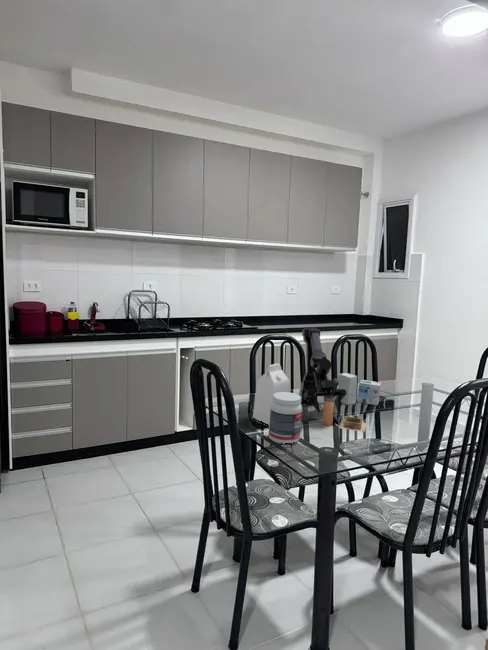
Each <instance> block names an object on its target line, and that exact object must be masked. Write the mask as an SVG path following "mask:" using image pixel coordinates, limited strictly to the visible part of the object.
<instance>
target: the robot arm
mask: <svg viewBox="0 0 488 650" xmlns="http://www.w3.org/2000/svg"><path fill="white" fill-rule="evenodd" d="M301 336H302V337H303V339H302V340H303V342H304V344H305V347H306V351H305V352H306V361H305V362H306V370H305V371H306V372H305V374H304V376H303V378H302V382H301V384H300V391H301V393H302V396H301V402H300V404H301V405H302V404H303V405H309V406H312V407H314V409H315V410H316V411H317V413H318V414H319V413H321V409H320V405H319V401H318V397H324V396H332V397H334V398H335V401H334V406H335V407H336V408H335V409H336V411H337V413H339V412H340V411H341V405H342V404H341V403H342V402H341V400H342V399H343V398H344V397H345V396H346V394H347V392H346V390H345V389H338V388H336V387H338V385H339V383H338V378H332V379H330V378H328V374H329V373H330V371H331V369H332V365H333V363H332V362H331V360H330V359H328V358H327V355H326V353H325V352H324V351H323V348H322V344H321V330H320V329H318V327H308V326H307V327H304V329H302V332H301ZM334 388H336V390H335V391H333V390H334Z"/></svg>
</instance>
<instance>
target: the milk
mask: <svg viewBox="0 0 488 650" xmlns="http://www.w3.org/2000/svg"><path fill="white" fill-rule="evenodd" d="M278 392H290V393H291V381H290V380H289V377H287V375H286V374H285V372H284V370H282V366H281V364H280V363H273V364H269V365H268V367H267V371H266V372H265V373H264V374H262V375H261V376H260V377H259V378H258V379H257V381H256V388H255V399H254V404H253V412H252V413H253V414H252V419H253V418H255V419H257V420H259V421H262V422H264V423H266V424H268V425H269V421H270V406H271V403H272V402H273V401H274V400H273V395H274V394H275V393H278Z"/></svg>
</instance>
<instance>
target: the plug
mask: <svg viewBox="0 0 488 650" xmlns="http://www.w3.org/2000/svg"><path fill="white" fill-rule="evenodd" d="M334 401H335V398H334V396H323V408H322V418H321V419H322V421H321V423H322V425H323V426H326V427H327V426H332V425H333V420H334V411H335V410H334V409H335V402H334Z"/></svg>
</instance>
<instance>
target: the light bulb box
mask: <svg viewBox="0 0 488 650" xmlns="http://www.w3.org/2000/svg"><path fill="white" fill-rule="evenodd" d="M381 385H382V383H381V382H379V381H378V382H377V381H373V380H365V379H360V381H359V384H358V391H357V397H356V403H362V404H367V405H373V406H378V405H379V402H380V394H381V387H382V386H381Z"/></svg>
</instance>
